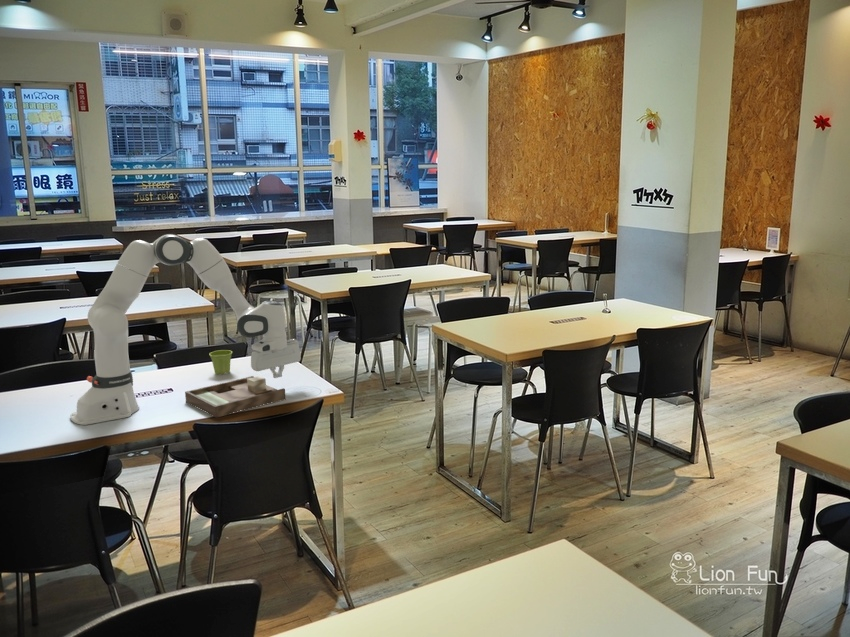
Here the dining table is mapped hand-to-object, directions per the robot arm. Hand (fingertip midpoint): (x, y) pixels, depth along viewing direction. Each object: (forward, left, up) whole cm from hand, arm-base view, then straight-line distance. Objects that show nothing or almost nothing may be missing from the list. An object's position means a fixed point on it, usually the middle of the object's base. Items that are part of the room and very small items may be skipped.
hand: (277, 377), depth 281 cm
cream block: (-9, 0, -3) cm, 10 cm away
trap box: (-18, 0, -5) cm, 19 cm away
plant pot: (-4, +38, -5) cm, 39 cm away
